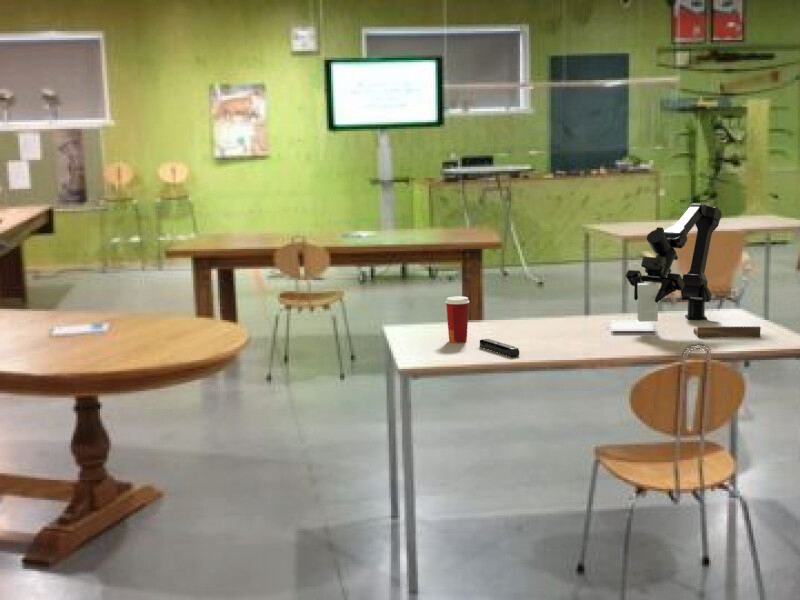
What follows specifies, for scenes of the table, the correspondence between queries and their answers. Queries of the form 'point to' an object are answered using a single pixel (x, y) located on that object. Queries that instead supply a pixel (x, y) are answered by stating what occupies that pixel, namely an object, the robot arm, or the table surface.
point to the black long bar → (499, 347)
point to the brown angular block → (727, 331)
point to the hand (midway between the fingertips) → (645, 300)
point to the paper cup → (457, 318)
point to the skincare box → (647, 302)
